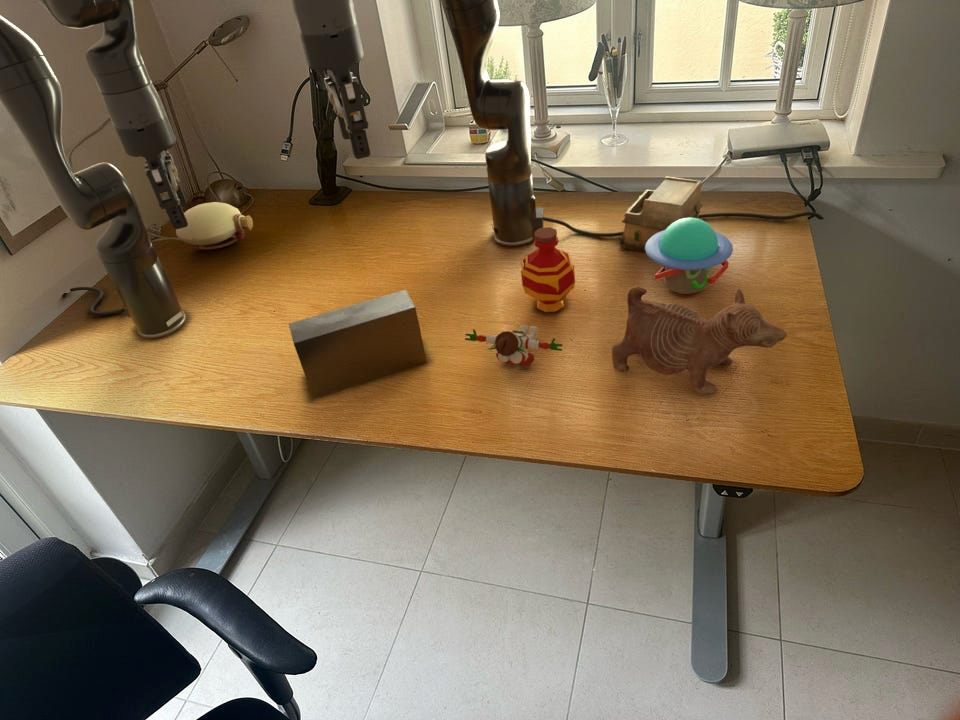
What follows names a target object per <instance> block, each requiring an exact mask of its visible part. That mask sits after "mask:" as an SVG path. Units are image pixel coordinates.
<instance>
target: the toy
mask: <svg viewBox="0 0 960 720" xmlns="http://www.w3.org/2000/svg"><path fill="white" fill-rule="evenodd" d="M528 330H529V334H528ZM538 330H539V327H538V326H535V325H532V326H528V325H525V324H521V325H520V326H519V330H515V329H514V330H512V331H509V330H508V331H502V332H500V333H498V334H497V335H492V334H491V335H489V334H487V335H486V336H485V335H483V334H479V335H478V334H477V330H476V329H475V328H474V329H472V333H465V334H464V335H465V336H467V337H465V338H464V340H465V341H472V342H477V341H478V342H480V343H486V344H487V345H488V344H490V345H491V346H490V347H488V348H486V349H487V350H490V351H491V350H496V354H495V357H496V358H497V360H498V361H499V362H502V364H504V365H509V366H515V365H521V366H522V368H523V367H524V368H525V367H532V364H533V363H534V361H535V355H534V354H533V353H531V352H528V351H527V350H530V349H531V350H534V349H536V350H540V349H542V350H548V349H549V350H551V351H558V352H562V351H563V348H559V347H563V346H564V344H562V343H556V338H555V337H553V338H552V339H551V342H550V343H549V342H545V341H544V342H543V341H542V342H541V341H540V340H537V333H538ZM526 349H527V350H526Z"/></svg>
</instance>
